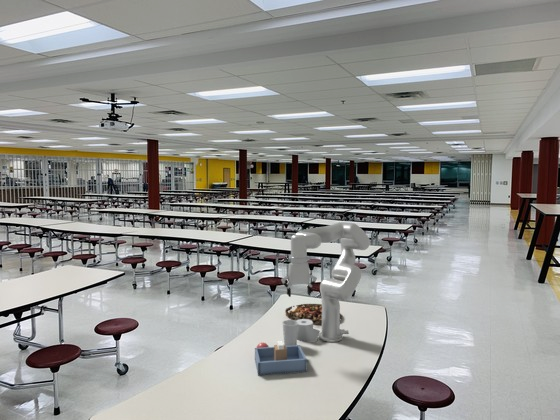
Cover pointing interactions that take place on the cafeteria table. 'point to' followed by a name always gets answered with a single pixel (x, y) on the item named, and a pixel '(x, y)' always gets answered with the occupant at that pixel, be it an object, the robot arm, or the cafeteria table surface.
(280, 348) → the brown and white block
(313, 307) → the food dish
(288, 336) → the cup
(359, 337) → the cafeteria table surface
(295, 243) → the robot arm
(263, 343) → the red glossy sphere
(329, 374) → the cafeteria table surface
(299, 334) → the toilet tissue
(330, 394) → the cafeteria table surface
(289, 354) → the tub
